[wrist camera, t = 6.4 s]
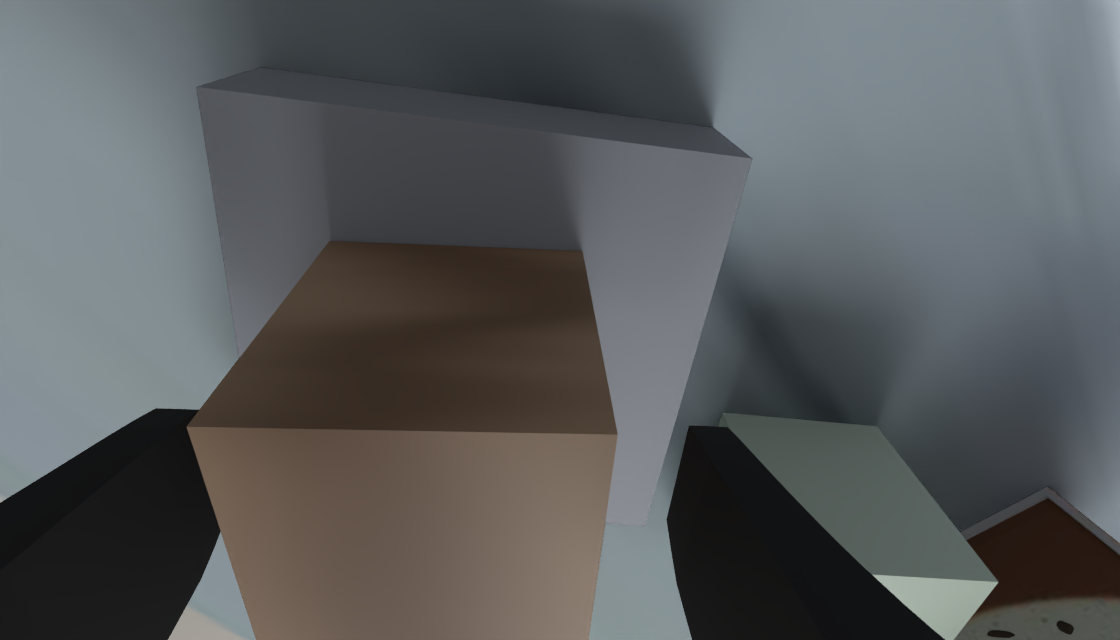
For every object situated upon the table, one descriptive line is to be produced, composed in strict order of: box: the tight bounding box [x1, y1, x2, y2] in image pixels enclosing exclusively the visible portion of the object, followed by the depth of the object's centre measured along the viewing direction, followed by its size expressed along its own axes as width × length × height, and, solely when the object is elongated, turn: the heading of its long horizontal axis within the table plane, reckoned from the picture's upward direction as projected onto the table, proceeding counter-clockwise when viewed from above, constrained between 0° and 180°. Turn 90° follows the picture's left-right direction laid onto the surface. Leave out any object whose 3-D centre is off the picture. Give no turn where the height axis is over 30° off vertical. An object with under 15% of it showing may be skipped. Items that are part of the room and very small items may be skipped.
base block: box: [196, 67, 752, 526], centre depth 13 cm, size 9×9×3 cm
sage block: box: [718, 413, 998, 640], centre depth 15 cm, size 4×4×5 cm
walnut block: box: [187, 241, 618, 640], centre depth 10 cm, size 4×4×5 cm
